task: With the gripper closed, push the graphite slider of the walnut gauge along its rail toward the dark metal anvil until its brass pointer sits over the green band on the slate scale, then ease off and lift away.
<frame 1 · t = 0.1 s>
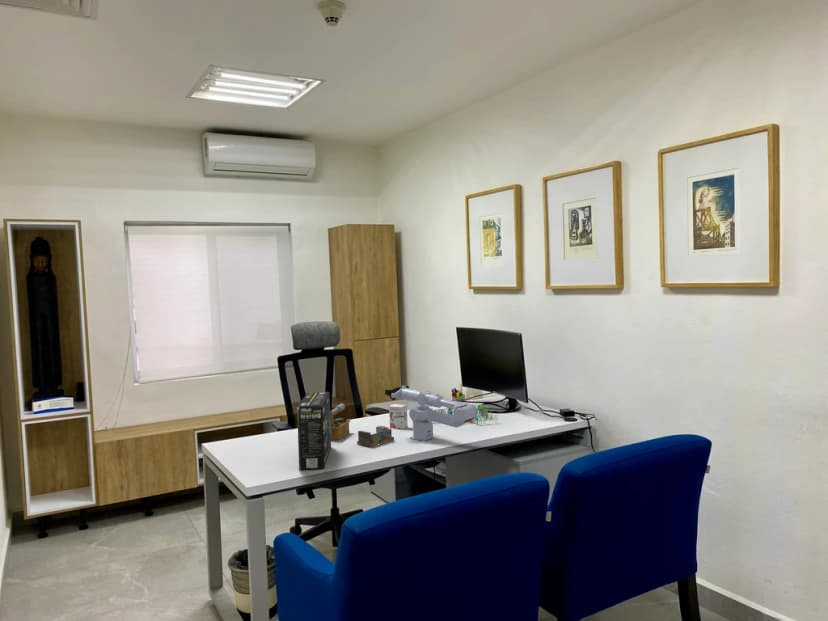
hand: (390, 390, 311), 22 cm above the table, tool horizontal, fingers open, 7 cm apart
gauge base: (375, 442, 294), on the table
geiger counter: (334, 438, 305), on the table
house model: (461, 421, 334), on the table
router box: (316, 458, 271), on the table
gauge slider: (383, 431, 297), point 5 cm above the table, slide at 0.0 cm
ink box: (398, 428, 323), on the table
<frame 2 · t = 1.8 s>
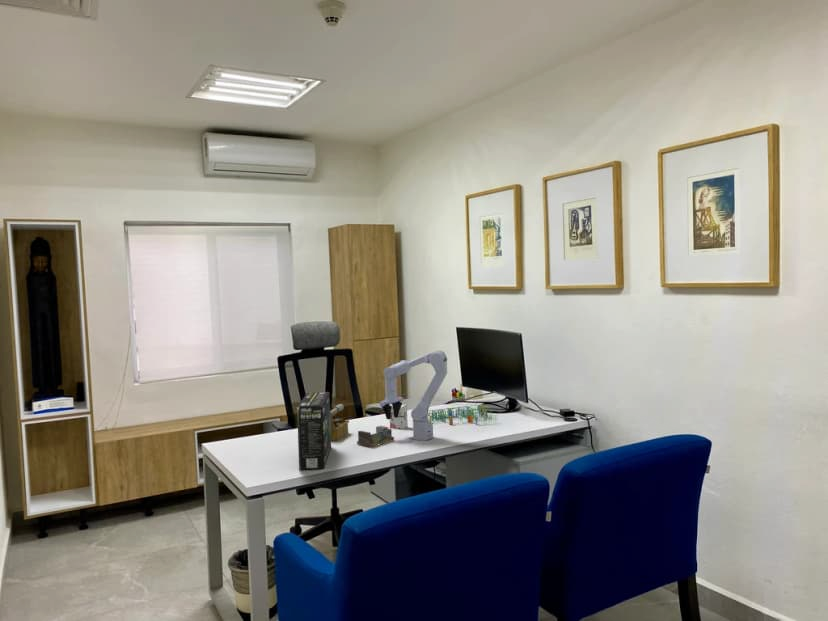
hand: (392, 418, 303), 9 cm above the table, tool pointing down, fingers open, 5 cm apart
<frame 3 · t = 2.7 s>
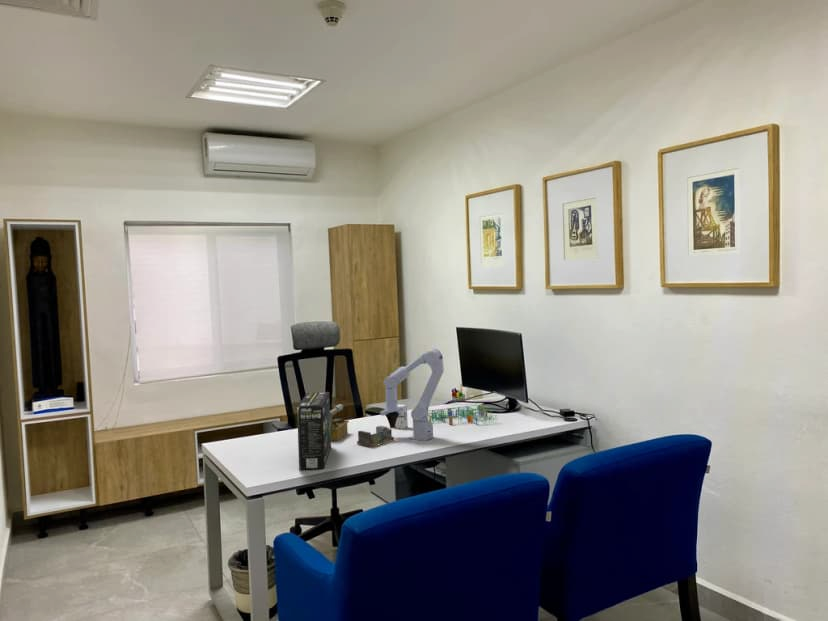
hand: (392, 427, 303), 5 cm above the table, tool pointing down, fingers closed
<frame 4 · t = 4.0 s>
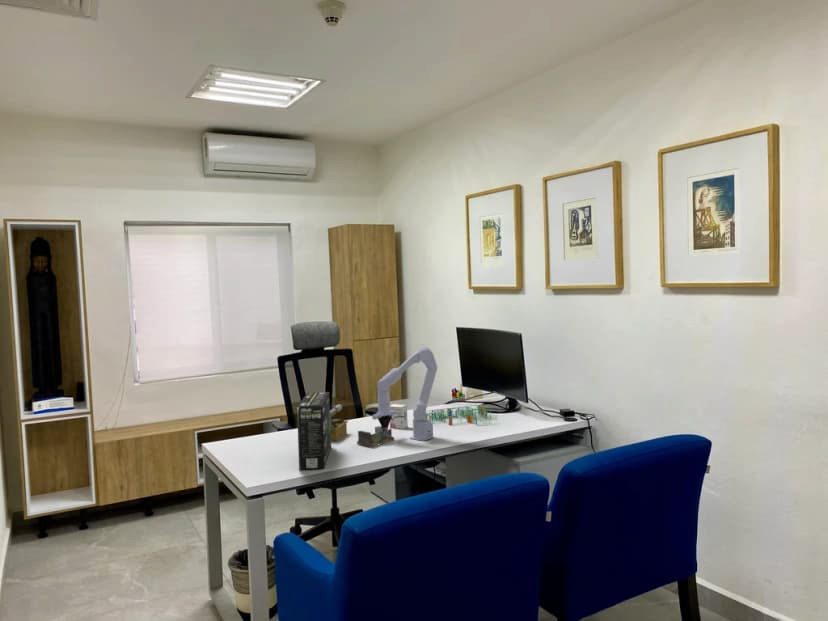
hand: (385, 431, 299), 4 cm above the table, tool pointing down, fingers closed
gauge slider: (382, 431, 296), point 5 cm above the table, slide at 0.8 cm, touching gripper
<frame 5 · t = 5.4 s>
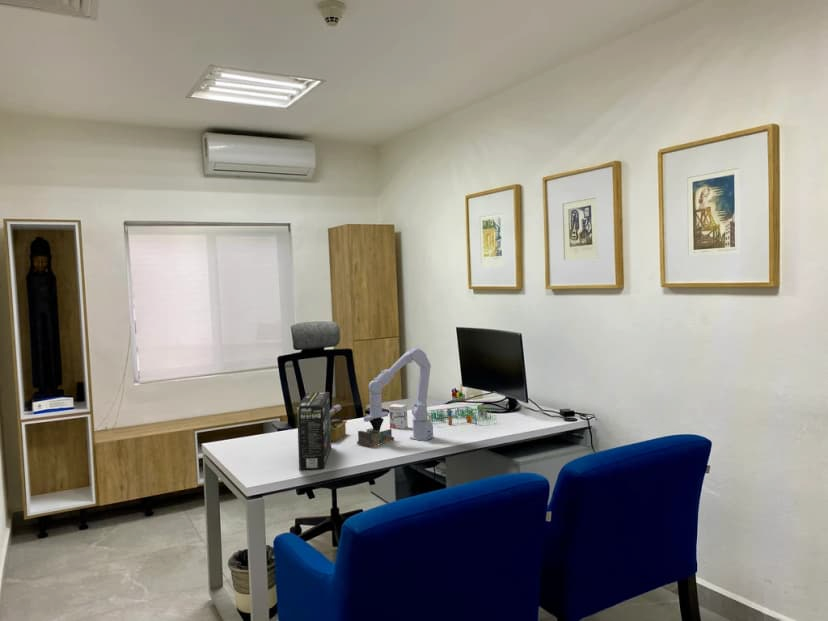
hand: (376, 433, 295), 4 cm above the table, tool pointing down, fingers closed
gauge slider: (374, 434, 292), point 5 cm above the table, slide at 6.4 cm, touching gripper
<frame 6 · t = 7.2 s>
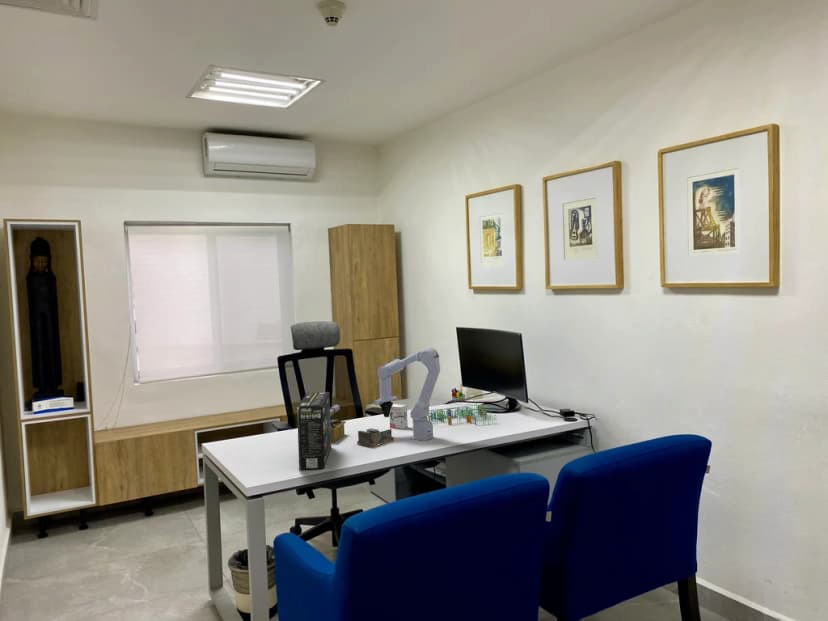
hand: (386, 416, 306), 9 cm above the table, tool pointing down, fingers closed
gauge slider: (374, 434, 292), point 4 cm above the table, slide at 6.4 cm
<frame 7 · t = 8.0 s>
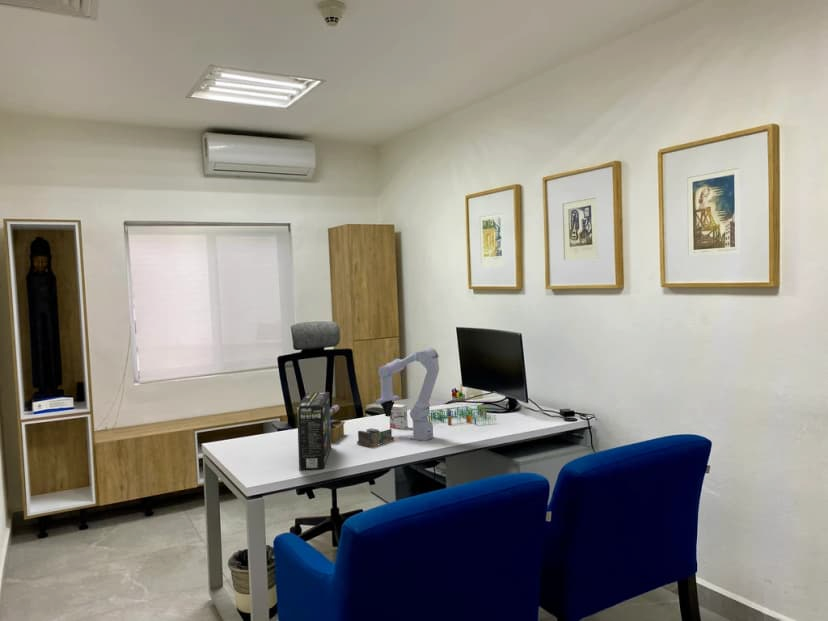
hand: (387, 416, 308), 9 cm above the table, tool pointing down, fingers closed
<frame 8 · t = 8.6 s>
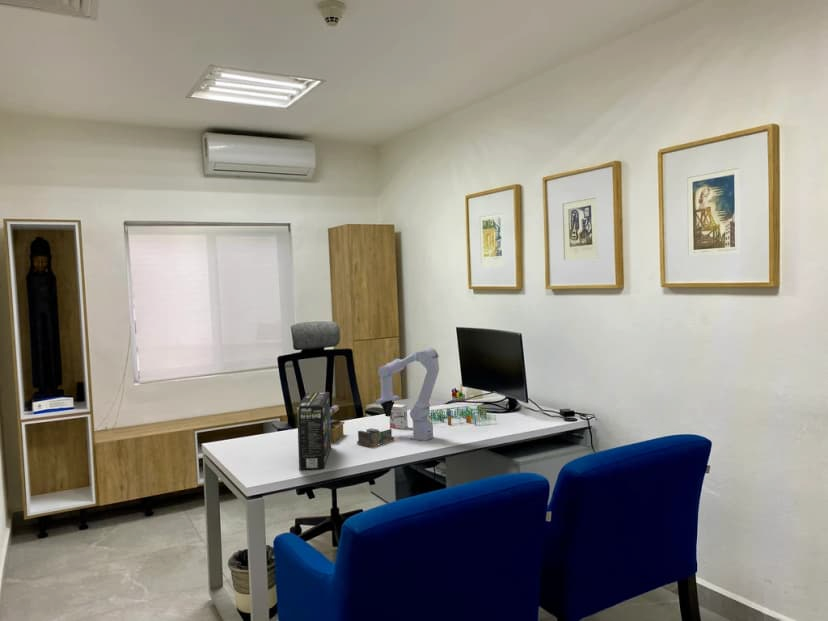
hand: (387, 416, 308), 9 cm above the table, tool pointing down, fingers closed
at the end: gauge slider slide at 6.4 cm; the gripper is holding nothing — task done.
